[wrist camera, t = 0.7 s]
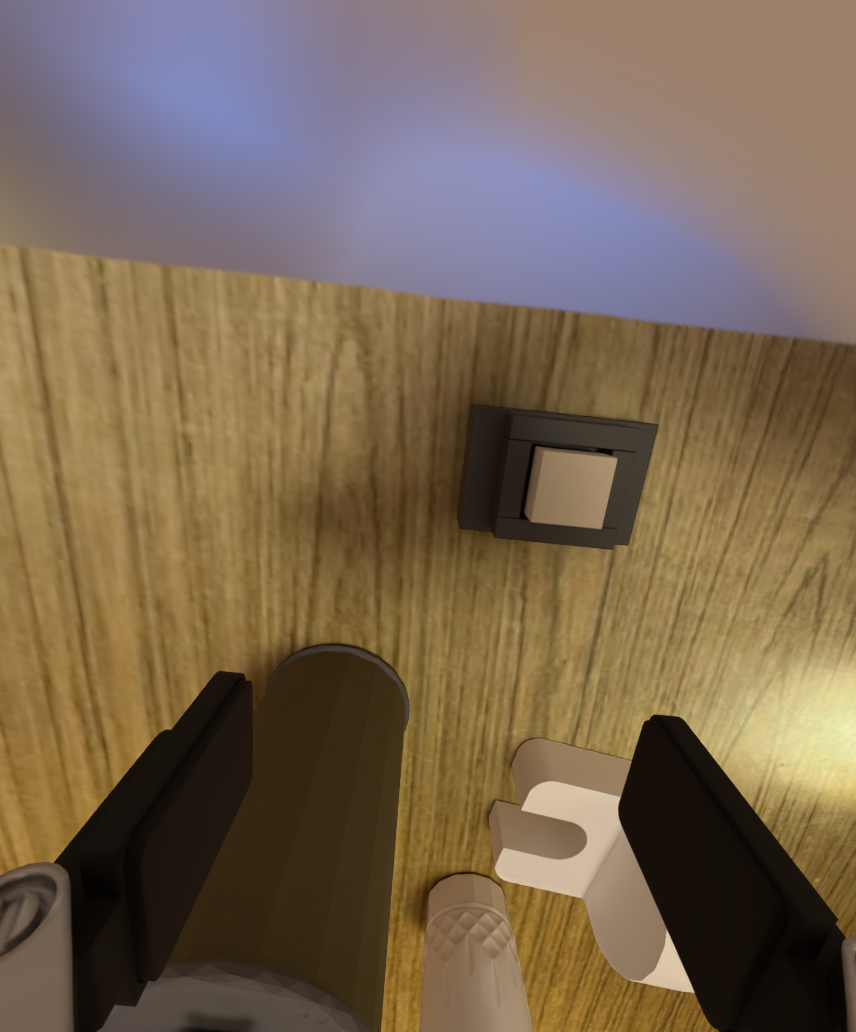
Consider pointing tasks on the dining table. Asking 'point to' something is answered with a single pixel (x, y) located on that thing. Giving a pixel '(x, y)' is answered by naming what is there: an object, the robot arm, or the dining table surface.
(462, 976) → the white cup
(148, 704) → the dining table surface
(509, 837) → the slotted bracket
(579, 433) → the block
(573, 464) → the key
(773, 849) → the robot arm
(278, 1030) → the canister
